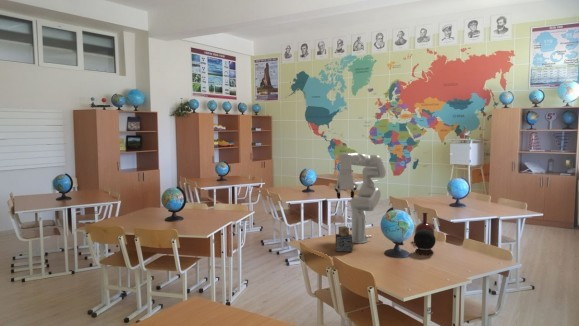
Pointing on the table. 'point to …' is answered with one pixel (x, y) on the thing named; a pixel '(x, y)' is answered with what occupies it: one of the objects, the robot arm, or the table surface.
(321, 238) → the table surface
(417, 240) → the black round ball
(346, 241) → the small box
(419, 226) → the round-bottom flask
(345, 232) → the walnut cube
